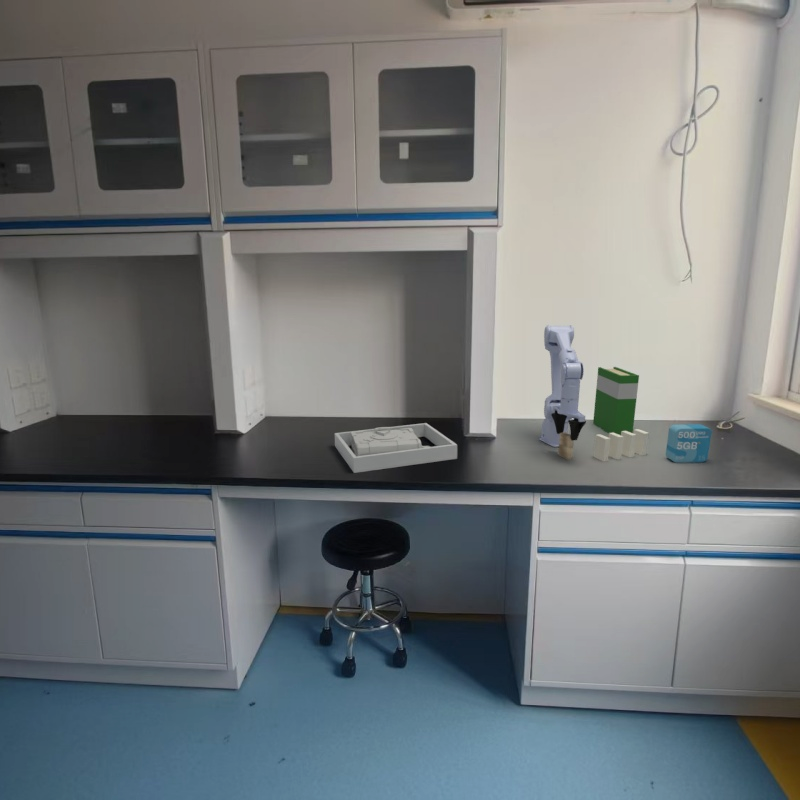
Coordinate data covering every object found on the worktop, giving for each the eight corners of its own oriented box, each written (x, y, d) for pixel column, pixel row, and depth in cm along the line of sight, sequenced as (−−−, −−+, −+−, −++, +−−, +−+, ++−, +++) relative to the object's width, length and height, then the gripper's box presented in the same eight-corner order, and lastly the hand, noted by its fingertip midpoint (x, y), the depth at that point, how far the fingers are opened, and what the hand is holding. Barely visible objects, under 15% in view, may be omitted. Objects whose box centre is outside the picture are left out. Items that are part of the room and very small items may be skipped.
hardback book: (593, 423, 214) (598, 367, 208) (610, 423, 215) (615, 366, 209) (613, 436, 197) (620, 375, 191) (632, 436, 198) (639, 375, 192)
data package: (671, 462, 170) (676, 428, 167) (664, 458, 175) (669, 424, 172) (707, 462, 171) (712, 428, 168) (699, 457, 175) (704, 424, 172)
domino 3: (606, 454, 178) (608, 433, 176) (611, 454, 179) (613, 432, 177) (616, 459, 174) (618, 437, 172) (621, 458, 174) (623, 436, 172)
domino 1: (558, 454, 178) (560, 432, 176) (563, 454, 179) (564, 432, 177) (567, 459, 174) (568, 437, 172) (572, 458, 175) (573, 436, 173)
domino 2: (593, 456, 176) (595, 434, 174) (598, 456, 177) (600, 434, 175) (603, 461, 172) (605, 439, 170) (608, 460, 172) (610, 438, 170)
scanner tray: (335, 446, 188) (334, 433, 187) (426, 435, 200) (426, 423, 199) (354, 472, 163) (353, 458, 162) (457, 458, 175) (457, 444, 174)
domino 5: (631, 451, 181) (633, 429, 180) (635, 450, 182) (638, 429, 180) (641, 455, 177) (644, 433, 175) (646, 454, 178) (649, 433, 176)
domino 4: (619, 453, 180) (621, 431, 178) (623, 452, 180) (625, 430, 178) (629, 457, 175) (631, 435, 173) (633, 456, 176) (636, 434, 174)
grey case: (436, 458, 176) (437, 437, 174) (356, 465, 171) (355, 443, 169) (423, 441, 194) (423, 422, 193) (350, 447, 189) (349, 427, 187)
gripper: (546, 394, 177) (544, 431, 180) (573, 404, 163) (570, 444, 167) (563, 392, 179) (560, 429, 182) (591, 402, 166) (588, 441, 169)
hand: (566, 436), depth 175 cm, fingers open, 7 cm apart
